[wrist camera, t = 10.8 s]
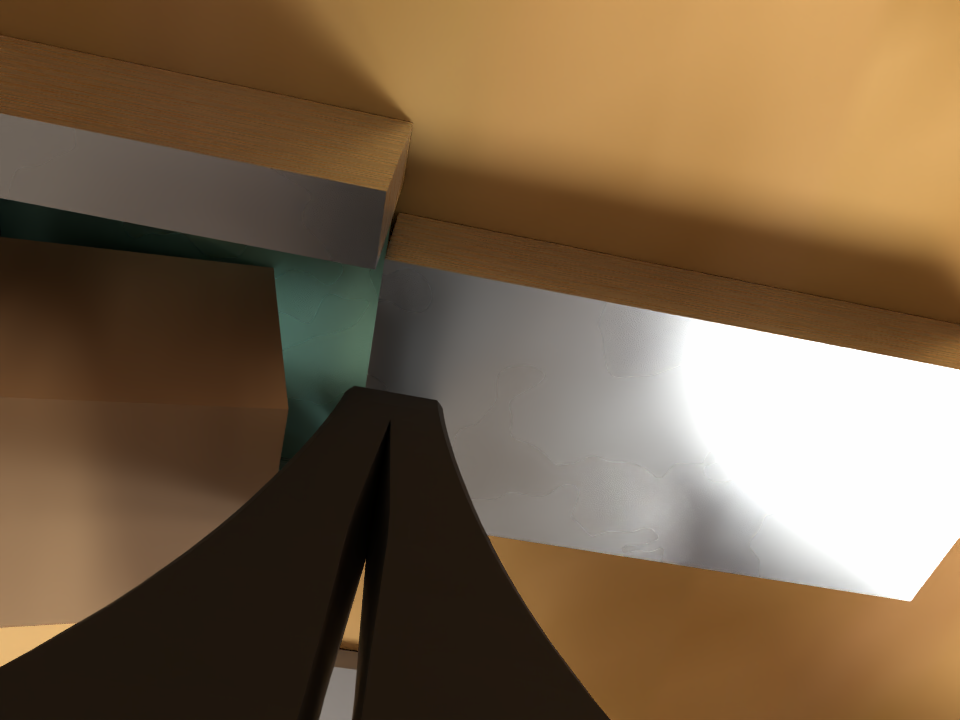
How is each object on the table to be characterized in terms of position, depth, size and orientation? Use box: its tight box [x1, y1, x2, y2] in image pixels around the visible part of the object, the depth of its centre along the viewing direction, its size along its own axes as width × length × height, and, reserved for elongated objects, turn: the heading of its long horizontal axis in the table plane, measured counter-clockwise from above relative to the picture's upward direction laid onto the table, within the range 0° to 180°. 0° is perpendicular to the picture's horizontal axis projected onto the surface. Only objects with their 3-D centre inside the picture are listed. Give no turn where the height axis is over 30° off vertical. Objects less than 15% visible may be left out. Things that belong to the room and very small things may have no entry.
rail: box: [0, 35, 960, 601], centre depth 12 cm, size 18×8×4 cm, turn 78°
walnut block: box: [0, 237, 288, 628], centre depth 11 cm, size 4×4×4 cm
